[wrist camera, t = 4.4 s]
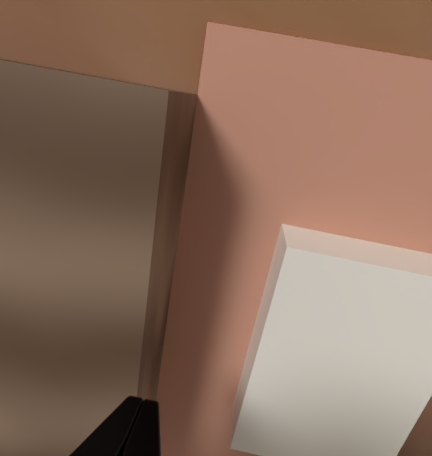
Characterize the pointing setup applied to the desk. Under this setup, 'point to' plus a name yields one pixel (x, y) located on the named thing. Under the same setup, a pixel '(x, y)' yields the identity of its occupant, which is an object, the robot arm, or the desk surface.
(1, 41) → the desk surface
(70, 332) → the brown long block
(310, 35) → the desk surface
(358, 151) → the mat
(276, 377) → the white flat block
